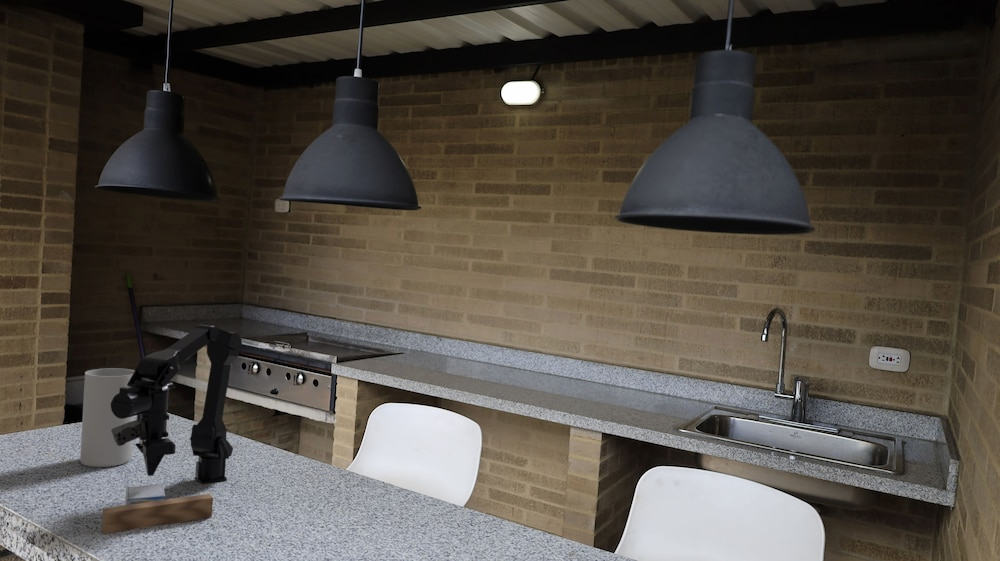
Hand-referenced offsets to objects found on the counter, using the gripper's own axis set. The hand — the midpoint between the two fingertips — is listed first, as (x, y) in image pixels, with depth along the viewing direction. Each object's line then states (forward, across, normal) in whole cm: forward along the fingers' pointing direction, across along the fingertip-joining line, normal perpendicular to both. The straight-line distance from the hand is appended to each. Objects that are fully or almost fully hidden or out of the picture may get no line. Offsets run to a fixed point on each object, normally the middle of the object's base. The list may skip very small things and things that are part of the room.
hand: (150, 475), depth 165 cm
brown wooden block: (+7, +11, 0) cm, 13 cm away
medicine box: (+5, -3, 0) cm, 6 cm away
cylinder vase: (+8, -40, -3) cm, 41 cm away
